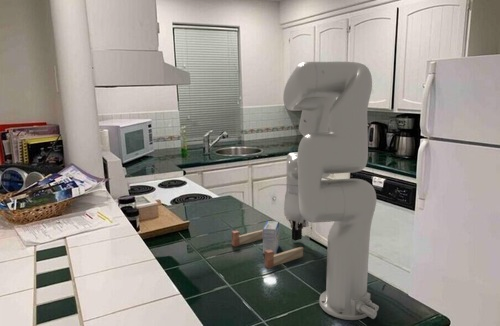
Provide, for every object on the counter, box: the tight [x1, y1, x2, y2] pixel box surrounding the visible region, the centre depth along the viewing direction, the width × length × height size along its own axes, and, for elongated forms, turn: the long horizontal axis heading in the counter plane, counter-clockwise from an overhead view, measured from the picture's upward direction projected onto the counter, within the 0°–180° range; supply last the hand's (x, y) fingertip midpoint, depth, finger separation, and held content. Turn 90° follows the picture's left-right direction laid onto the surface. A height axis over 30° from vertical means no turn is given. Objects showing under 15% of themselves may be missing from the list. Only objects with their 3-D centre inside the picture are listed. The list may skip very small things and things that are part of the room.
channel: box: [231, 229, 304, 270], centre depth 121 cm, size 21×14×5 cm, turn 34°
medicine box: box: [262, 220, 280, 255], centre depth 122 cm, size 8×4×9 cm, turn 168°
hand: (296, 239), depth 128 cm, fingers closed
